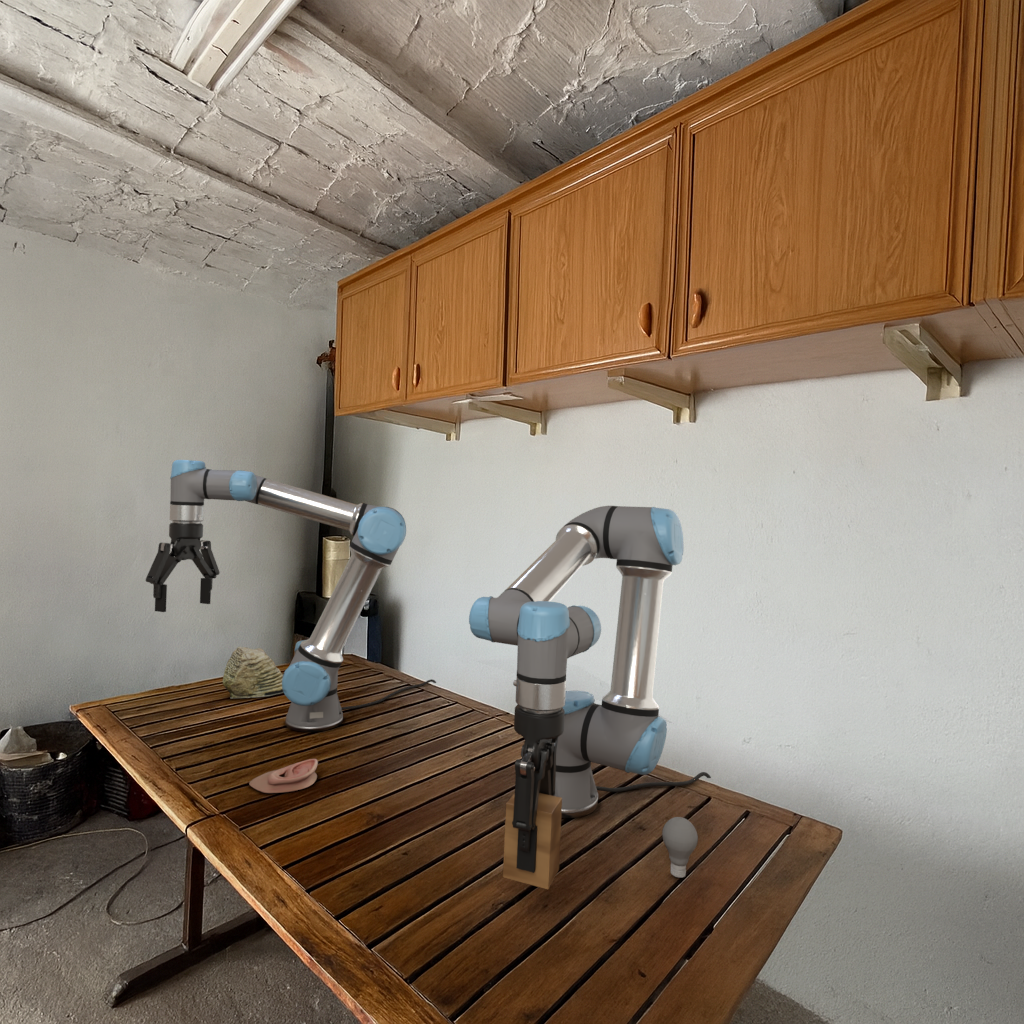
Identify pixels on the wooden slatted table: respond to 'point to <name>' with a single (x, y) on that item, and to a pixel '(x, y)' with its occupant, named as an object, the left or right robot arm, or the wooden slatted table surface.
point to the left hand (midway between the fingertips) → (183, 607)
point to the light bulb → (679, 843)
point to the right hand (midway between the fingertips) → (532, 858)
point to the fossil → (252, 674)
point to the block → (546, 843)
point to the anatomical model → (287, 778)
